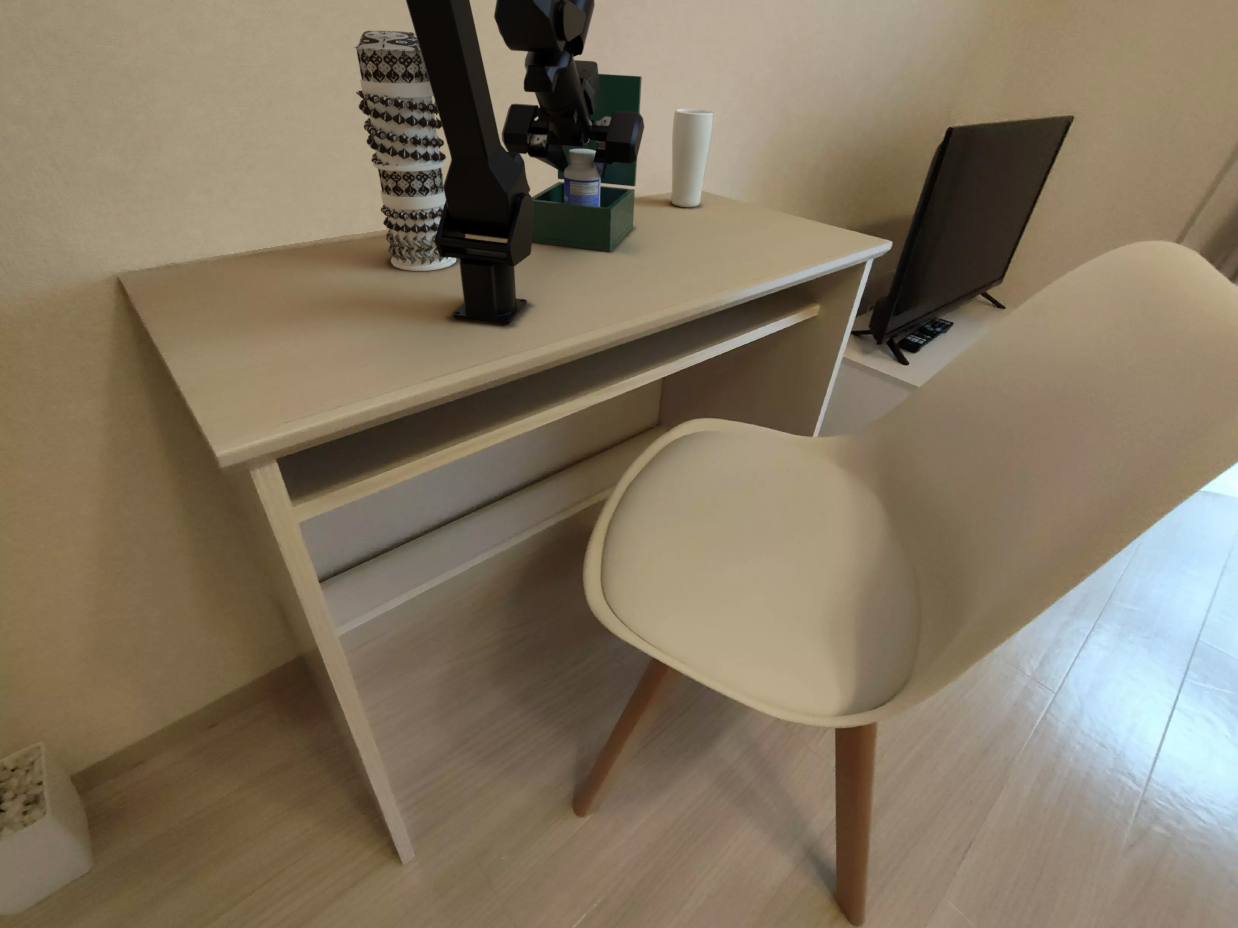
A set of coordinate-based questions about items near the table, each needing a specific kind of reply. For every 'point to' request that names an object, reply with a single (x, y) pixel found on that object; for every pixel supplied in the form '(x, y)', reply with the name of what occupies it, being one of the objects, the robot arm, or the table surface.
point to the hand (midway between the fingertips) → (585, 173)
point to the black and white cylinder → (404, 145)
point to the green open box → (583, 219)
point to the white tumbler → (690, 154)
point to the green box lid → (610, 97)
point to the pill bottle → (582, 179)
